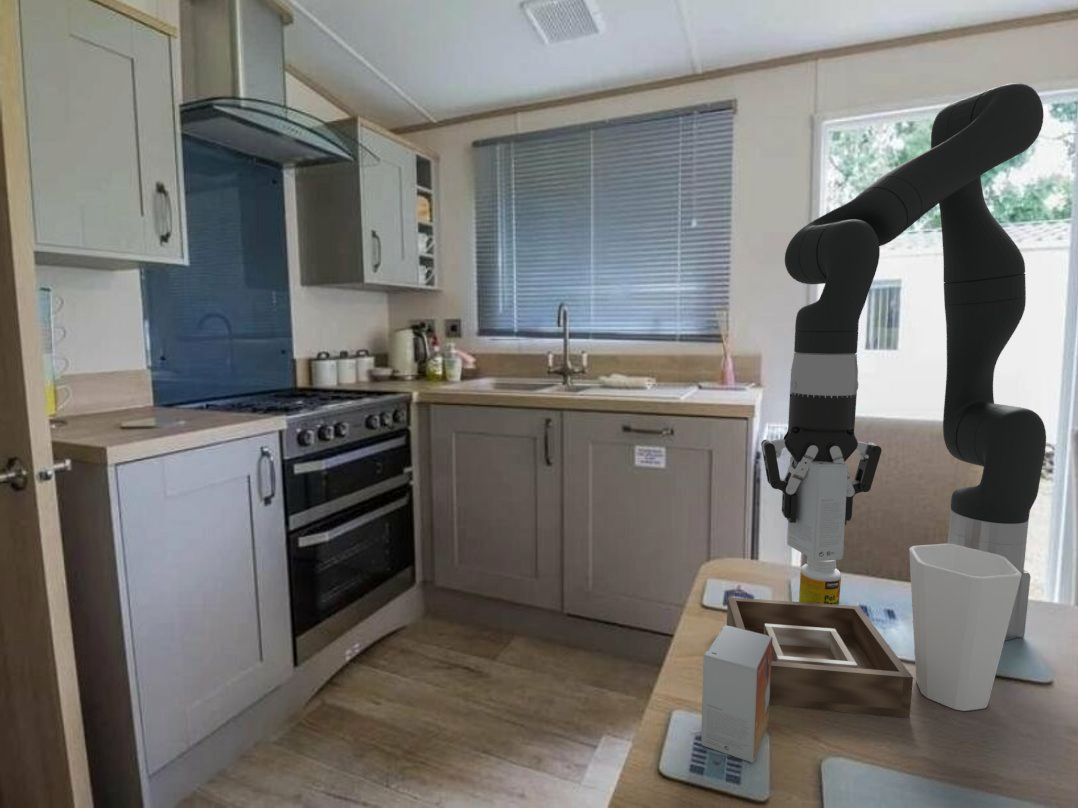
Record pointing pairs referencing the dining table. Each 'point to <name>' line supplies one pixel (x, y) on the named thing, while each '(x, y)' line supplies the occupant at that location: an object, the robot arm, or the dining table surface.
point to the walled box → (826, 657)
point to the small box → (736, 692)
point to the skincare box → (820, 512)
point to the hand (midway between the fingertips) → (815, 521)
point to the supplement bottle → (820, 582)
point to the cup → (959, 621)
